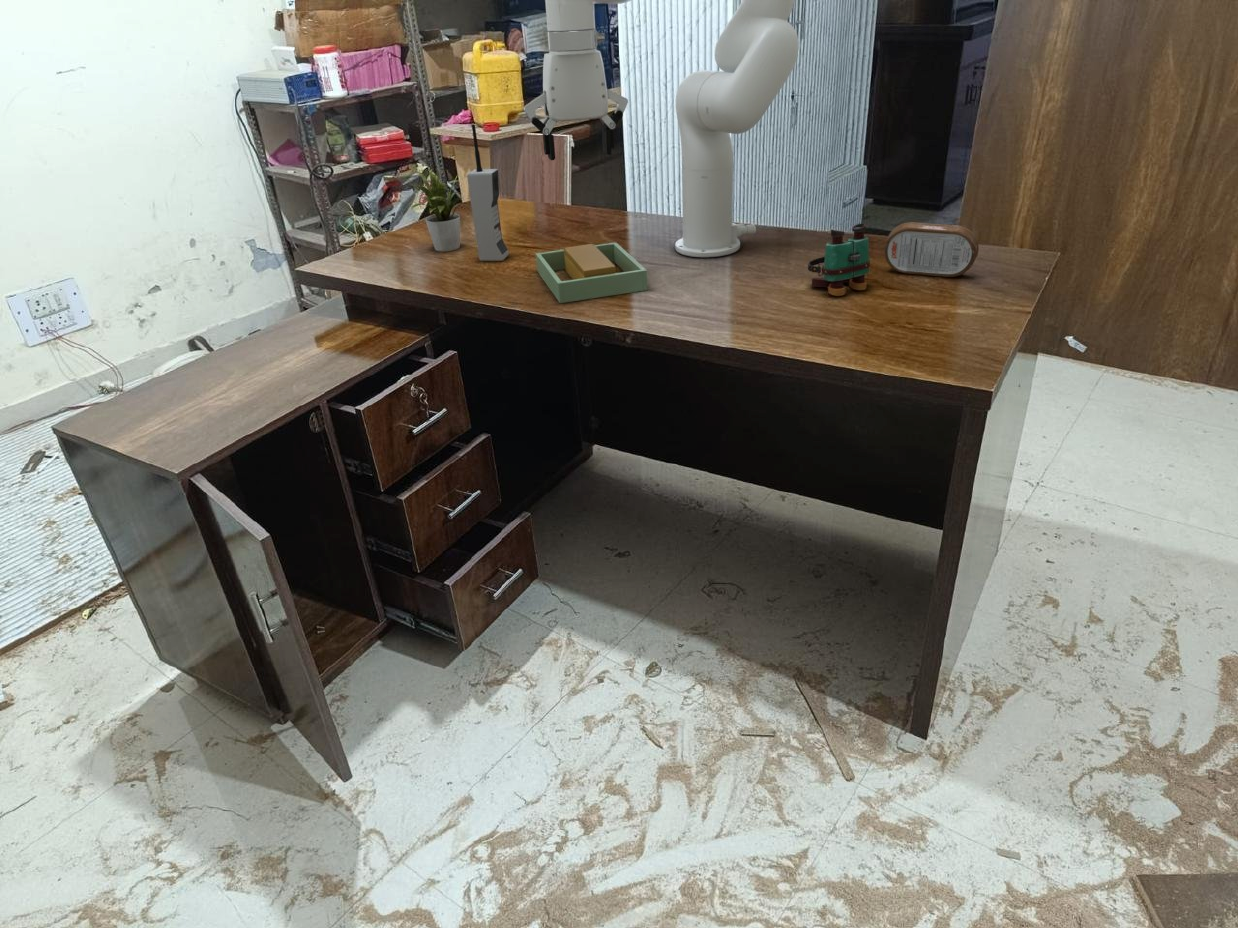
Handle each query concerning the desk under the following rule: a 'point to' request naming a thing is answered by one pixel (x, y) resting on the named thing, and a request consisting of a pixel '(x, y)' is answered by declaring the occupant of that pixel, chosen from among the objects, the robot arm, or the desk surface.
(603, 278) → the green rectangular open frame
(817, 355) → the desk surface
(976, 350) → the desk surface
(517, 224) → the desk surface
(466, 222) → the desk surface
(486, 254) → the vintage mobile phone
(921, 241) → the tin
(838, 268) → the binoculars
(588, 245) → the tan wooden plank
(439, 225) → the house plant
